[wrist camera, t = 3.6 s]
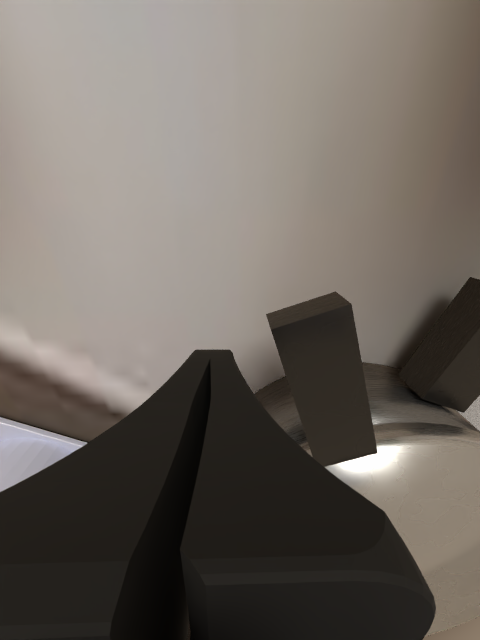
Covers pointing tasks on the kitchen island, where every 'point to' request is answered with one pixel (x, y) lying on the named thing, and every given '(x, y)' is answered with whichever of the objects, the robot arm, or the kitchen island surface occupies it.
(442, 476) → the cooker lid
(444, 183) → the kitchen island surface
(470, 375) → the cooker pot
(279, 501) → the robot arm
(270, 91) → the kitchen island surface
